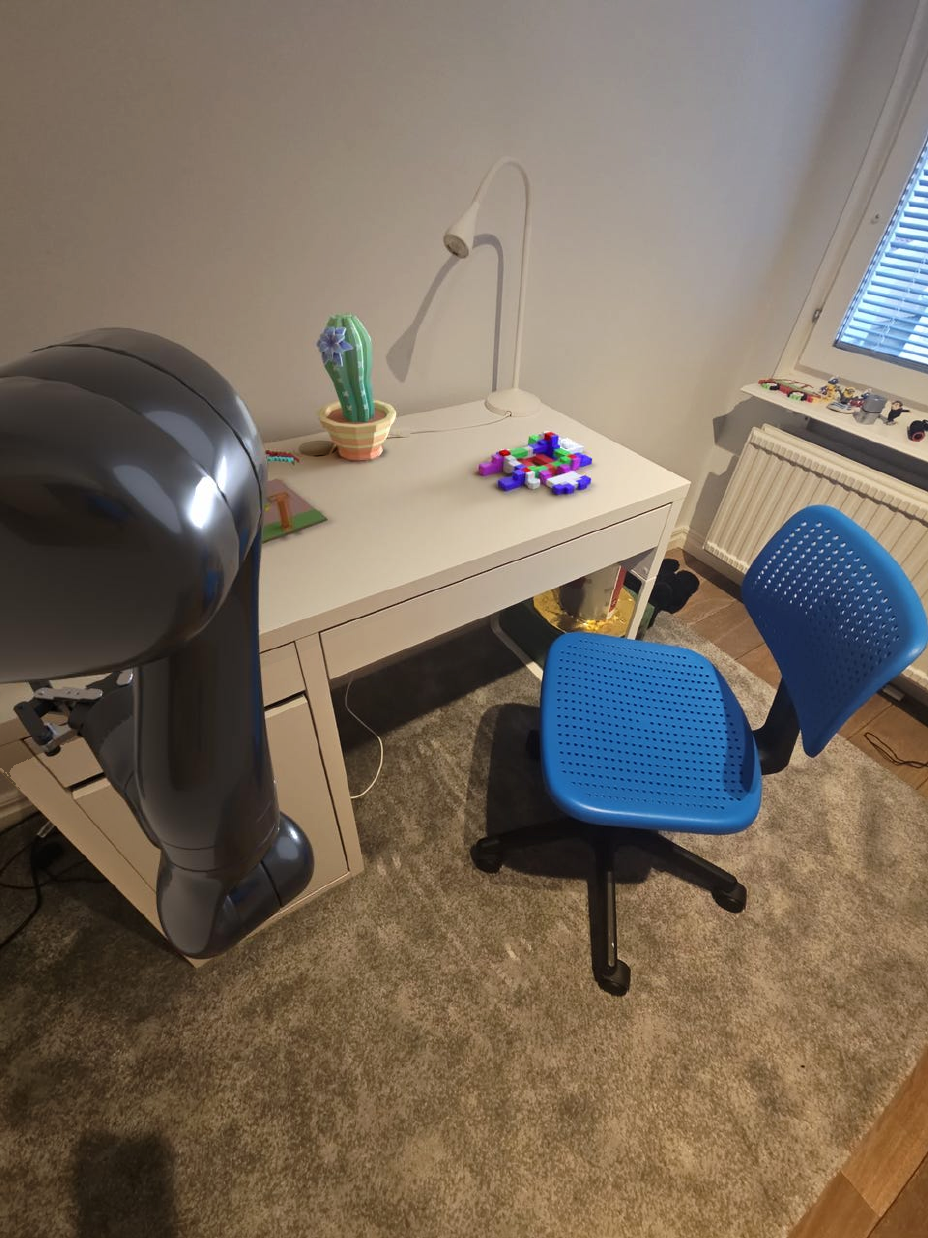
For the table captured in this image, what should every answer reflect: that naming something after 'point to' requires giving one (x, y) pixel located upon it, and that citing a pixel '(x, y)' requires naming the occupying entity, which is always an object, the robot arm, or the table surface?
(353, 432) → the potted cactus
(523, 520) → the table surface
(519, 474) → the building block set
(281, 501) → the figurine
